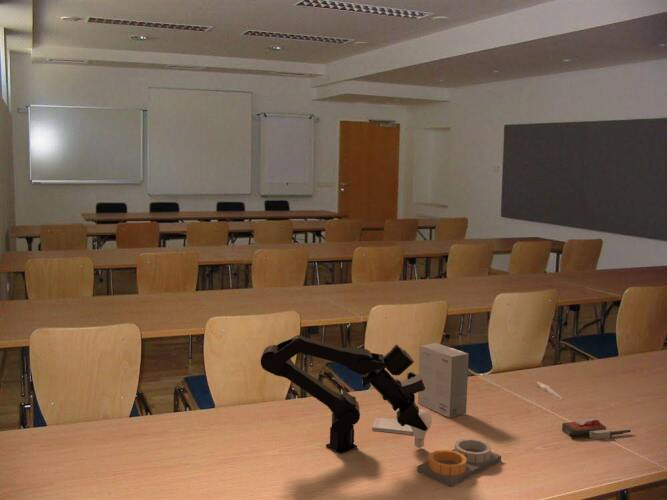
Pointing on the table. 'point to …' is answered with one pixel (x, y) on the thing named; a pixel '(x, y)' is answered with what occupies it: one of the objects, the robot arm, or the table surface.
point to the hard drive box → (443, 379)
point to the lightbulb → (420, 433)
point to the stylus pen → (548, 389)
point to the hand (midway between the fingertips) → (424, 424)
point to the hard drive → (391, 426)
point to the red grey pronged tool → (588, 429)
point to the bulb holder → (459, 461)
